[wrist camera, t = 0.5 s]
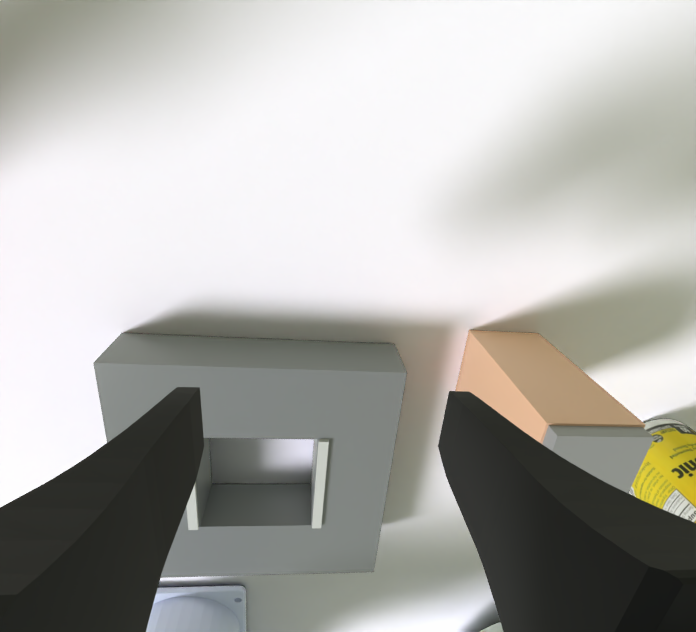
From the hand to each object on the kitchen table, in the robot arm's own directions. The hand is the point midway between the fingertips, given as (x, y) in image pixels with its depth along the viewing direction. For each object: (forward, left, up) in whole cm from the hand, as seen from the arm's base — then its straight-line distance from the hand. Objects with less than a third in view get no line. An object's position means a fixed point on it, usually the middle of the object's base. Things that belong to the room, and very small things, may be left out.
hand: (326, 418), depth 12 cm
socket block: (-9, +3, -10) cm, 14 cm away
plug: (-3, -10, -10) cm, 15 cm away
